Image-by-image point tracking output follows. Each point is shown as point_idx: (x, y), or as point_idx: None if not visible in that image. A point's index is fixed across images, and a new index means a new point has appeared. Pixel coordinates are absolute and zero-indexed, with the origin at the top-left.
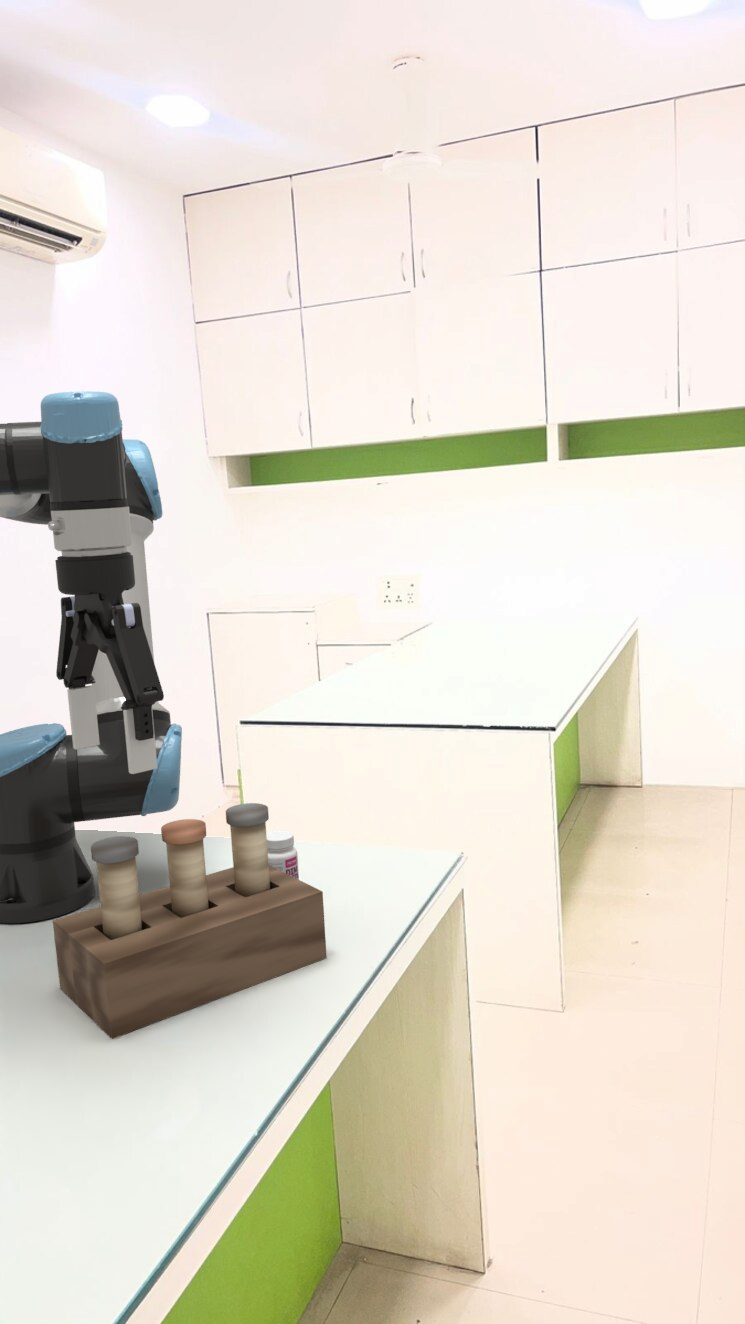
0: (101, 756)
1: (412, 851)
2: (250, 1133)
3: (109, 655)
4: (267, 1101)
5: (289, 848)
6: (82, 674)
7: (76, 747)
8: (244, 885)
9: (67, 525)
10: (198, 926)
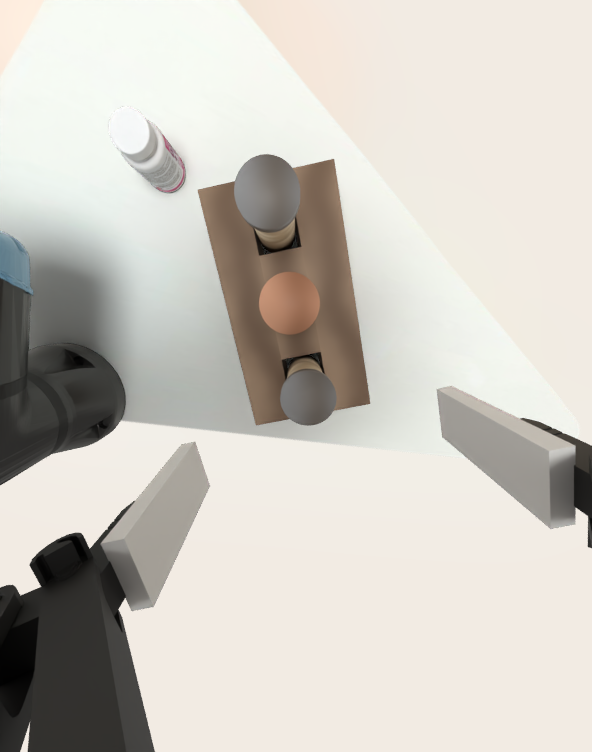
0: None
1: None
2: (510, 338)
3: None
4: (487, 317)
5: (153, 129)
6: (113, 621)
7: (207, 487)
8: (289, 240)
9: None
10: (344, 313)
